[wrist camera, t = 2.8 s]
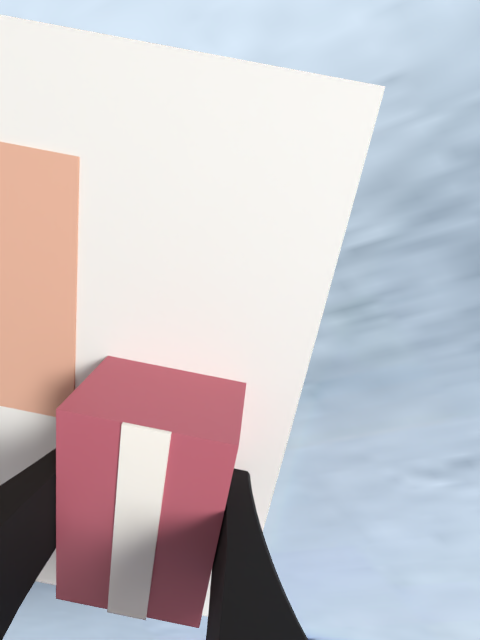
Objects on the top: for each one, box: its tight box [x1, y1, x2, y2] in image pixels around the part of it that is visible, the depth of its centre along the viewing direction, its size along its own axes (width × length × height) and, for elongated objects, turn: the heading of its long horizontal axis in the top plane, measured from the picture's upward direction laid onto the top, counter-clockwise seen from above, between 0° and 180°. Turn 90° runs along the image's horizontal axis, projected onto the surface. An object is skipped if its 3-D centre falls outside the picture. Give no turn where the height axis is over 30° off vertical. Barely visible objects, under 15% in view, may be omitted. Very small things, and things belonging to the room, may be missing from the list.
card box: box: [56, 356, 246, 628], centre depth 11 cm, size 7×4×3 cm, turn 170°
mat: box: [0, 15, 385, 617], centre depth 12 cm, size 20×16×1 cm
